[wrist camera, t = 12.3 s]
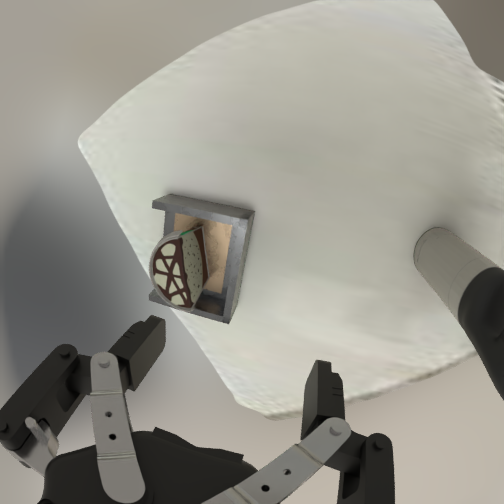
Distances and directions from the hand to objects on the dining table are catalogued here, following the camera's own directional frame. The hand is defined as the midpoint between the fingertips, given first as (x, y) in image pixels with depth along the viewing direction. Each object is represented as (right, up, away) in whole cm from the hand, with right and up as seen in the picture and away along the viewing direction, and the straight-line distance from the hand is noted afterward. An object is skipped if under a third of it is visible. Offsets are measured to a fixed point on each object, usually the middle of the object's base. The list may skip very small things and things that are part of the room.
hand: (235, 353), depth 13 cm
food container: (-10, +5, +34) cm, 36 cm away
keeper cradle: (-8, +5, +35) cm, 36 cm away
